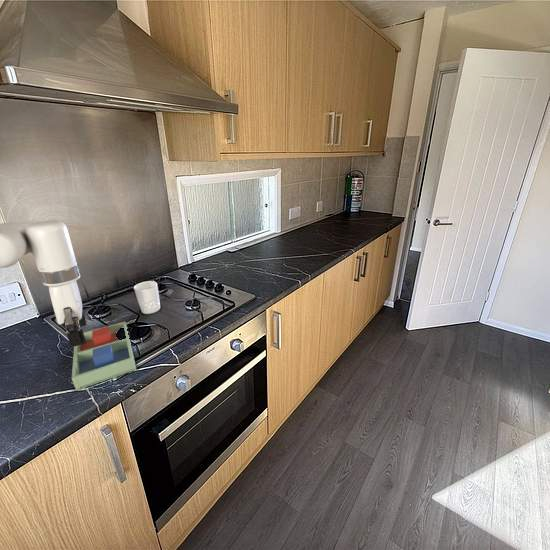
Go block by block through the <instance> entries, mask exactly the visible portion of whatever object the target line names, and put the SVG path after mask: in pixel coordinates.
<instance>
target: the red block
mask: <svg viewBox="0 0 550 550" xmlns="http://www.w3.org/2000/svg"><path fill="white" fill-rule="evenodd" d="M107 326H108V327H106V326H104V327H105V328H103V327H100V328H101V329H99V328H96V329H97V330H95V329H93V330H94V331H92V338H93V341H94V345H95V347H98V346H101V345H105V344H108V343H111V342H113V341H112V336H111V333H110V329H109V326H110V325H107Z"/></svg>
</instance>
